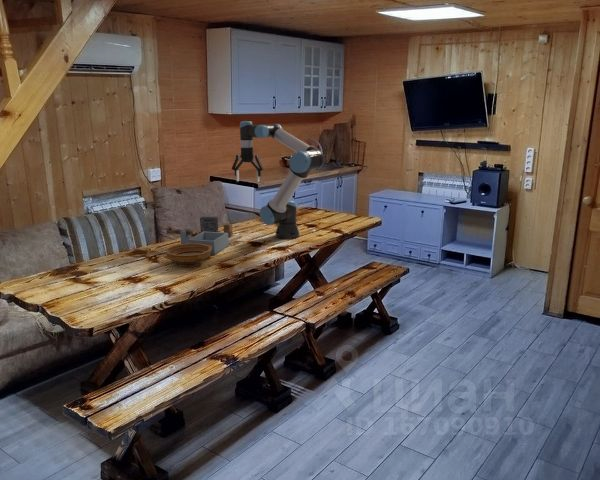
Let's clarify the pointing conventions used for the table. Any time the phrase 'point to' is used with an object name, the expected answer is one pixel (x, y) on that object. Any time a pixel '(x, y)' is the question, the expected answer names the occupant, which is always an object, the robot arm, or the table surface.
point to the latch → (178, 231)
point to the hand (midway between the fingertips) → (247, 181)
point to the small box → (209, 224)
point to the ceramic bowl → (188, 253)
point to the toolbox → (207, 240)
